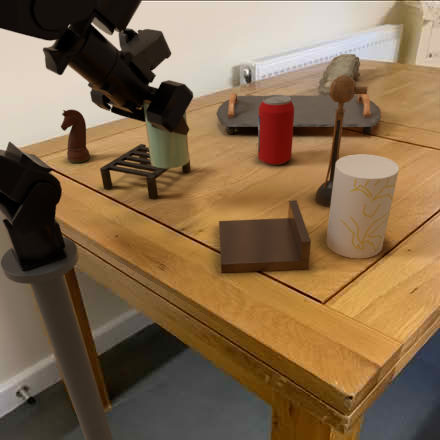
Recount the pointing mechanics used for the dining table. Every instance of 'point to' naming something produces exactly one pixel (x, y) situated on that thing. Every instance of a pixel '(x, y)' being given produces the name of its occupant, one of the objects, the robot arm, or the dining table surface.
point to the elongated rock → (339, 71)
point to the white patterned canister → (360, 204)
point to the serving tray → (302, 112)
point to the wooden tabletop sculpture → (337, 130)
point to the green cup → (166, 146)
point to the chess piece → (75, 136)
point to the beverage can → (275, 129)
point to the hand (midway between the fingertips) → (173, 127)
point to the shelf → (265, 243)
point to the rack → (142, 159)
